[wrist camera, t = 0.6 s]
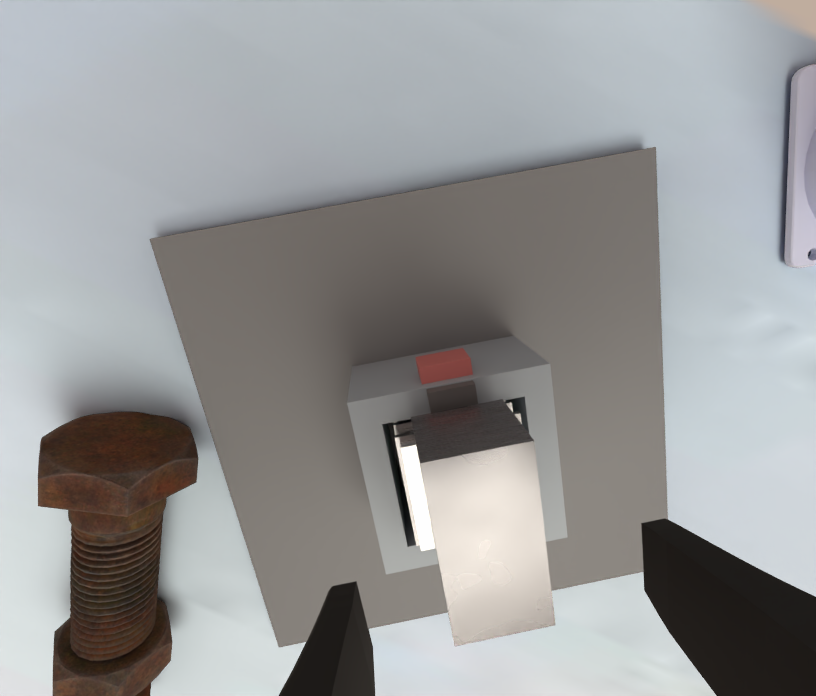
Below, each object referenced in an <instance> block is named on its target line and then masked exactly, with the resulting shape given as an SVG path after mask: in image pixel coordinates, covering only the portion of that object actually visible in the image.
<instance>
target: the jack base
mask: <svg viewBox="0 0 816 696" xmlns="http://www.w3.org/2000/svg"><path fill="white" fill-rule="evenodd" d="M150 242H151V245H152V248H153V251H154V254H155V258H156V261H157V264H158V267H159V270H160V273H161V276H162V280H163V283H164V286H165V289H166V292H167V295H168V299H169V302H170V305H171V308H172V311H173V314H174V318H175V321H176V324H177V327H178V330H179V333H180V337H181V340H182V343H183V346H184V349H185V352H186V355H187V359H188V362H189V365H190V368H191V371H192V374H193V378H194V381H195V384H196V387H197V390H198V393H199V397H200V400H201V403H202V406H203V409H204V412H205V415H206V419H207V422H208V425H209V428H210V431H211V434H212V438H213V441H214V444H215V447H216V450H217V453H218V457H219V460H220V463H221V466H222V469H223V472H224V475H225V479H226V482H227V485H228V488H229V491H230V494H231V498H232V501H233V504H234V507H235V510H236V513H237V517H238V520H239V523H240V526H241V529H242V532H243V535H244V539H245V542H246V545H247V548H248V551H249V554H250V558H251V561H252V564H253V567H254V570H255V573H256V577H257V580H258V583H259V586H260V589H261V592H262V595H263V599H264V602H265V605H266V608H267V611H268V614H269V618H270V621H271V624H272V627H273V630H274V633H275V637H276V640H277V643H278V646H279V647H283V646H288V645H293V644H298V643H302V642H307V640H308V638H309V636H310V633H311V631H312V629H313V627H314V624H315V622H316V620H317V618H318V615H319V613H320V611H321V608H322V606H323V603H324V601H325V599H326V596H327V593H328V591H329V590H330V588H331V587H332V586H335V585H340V584H345V583H350V582H355V581H357V585H358V589H359V593H360V598H361V602H362V606H363V610H364V614H365V618H366V622H367V626H368V629H370V628H375V627H379V626H384V625H389V624H394V623H399V622H403V621H408V620H413V619H418V618H423V617H427V616H432V615H437V614H442V613H447V612H448V610H447V605H446V600H445V595H444V589H443V584H442V579H441V574H440V569H439V564H438V559H437V553H436V548H434V549H429V550H424V551H421V547H420V545H419V546H416V541H415V536H414V531H413V526H412V521H411V516H410V511H409V506H408V501H407V496H406V491H405V487H404V482H403V477H402V472H401V467H400V462H399V457H398V452H397V447H396V442H395V436H394V435H395V431H394V426H393V423H394V422H397V421H402V420H407V419H411V417H413V416H418V415H423V414H428V413H434V412H439V411H444V410H449V409H454V408H459V407H464V406H469V405H474V404H480V403H485V402H490V401H495V400H500V399H503V400H505V401H509V400H510V401H511V402H512V408H513V412H516V411H519V412H520V414H521V422H522V425H523V427H524V428H525V429H526V430H527V432H528V433H529V434H530V436H531V437H532V438H533V440H534V443H535V451H536V460H537V469H538V478H539V486H540V495H541V504H542V513H543V521H544V530H545V539H546V547H547V556H548V565H549V574H550V582H551V591H553V590H557V589H562V588H567V587H572V586H577V585H581V584H586V583H591V582H596V581H601V580H606V579H610V578H615V577H620V576H625V575H630V574H634V573H639V572H644V569H643V548H642V528H641V523H644V522H649V521H654V520H659V519H664V518H665V519H667V520H668V512H667V481H666V450H665V419H664V388H663V357H662V326H661V295H660V264H659V233H658V202H657V170H656V147H653V148H648V149H642V150H637V151H631V152H626V153H620V154H615V155H609V156H604V157H598V158H593V159H587V160H582V161H576V162H571V163H565V164H560V165H554V166H549V167H543V168H538V169H532V170H527V171H521V172H516V173H510V174H505V175H499V176H494V177H488V178H483V179H477V180H472V181H466V182H461V183H455V184H450V185H444V186H439V187H433V188H428V189H422V190H417V191H411V192H406V193H400V194H395V195H389V196H384V197H378V198H373V199H367V200H362V201H356V202H351V203H345V204H340V205H334V206H329V207H323V208H318V209H312V210H307V211H301V212H296V213H290V214H285V215H279V216H274V217H268V218H263V219H257V220H252V221H246V222H241V223H235V224H230V225H224V226H219V227H213V228H208V229H202V230H197V231H191V232H186V233H180V234H175V235H169V236H164V237H158V238H153V239H150Z"/></svg>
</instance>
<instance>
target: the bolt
mask: <svg viewBox="0 0 816 696" xmlns="http://www.w3.org/2000/svg"><path fill="white" fill-rule="evenodd" d="M197 468H198V454H197V448H196V444H195V441H194V438H193V435H192V432H191V429H190V428H189V427H188V426H186V425H184V424H182V423H180V422H178V421H176V420H174V419H172V418H169V417H165V416H158V415H151V414H146V413H140V412H113V413H103V414H93V415H88V416H83V417H80V418H77V419H74V420H72V421H70V422H68V423H66V424H64V425H62V426H60V427H58V428H56V429H55V430H53V431H52V432H50V433H48V434H47V435H45V436H44V437H42V439H41V443H40V453H39V465H38V506H41V507H49V508H58V509H66V510H68V517H69V521H70V523H71V524H72V526H71V531H72V532H71V536H72V539H71V543H72V548H71V551H72V552H71V575H70V577H71V581H70V586H71V596H70V600H71V601H70V603H71V608H70V610H71V615H70V618H69V619H68V620H67V621H66V622H65V623H64V624H63V625H62V626H60V627H59V628H58V629H57V630H56V631H55V635H54V655H53V696H150V689H151V682H152V681H153V680H154V679H155V678H156V677H157V676H158V675H159V674H160V672H161V671H162V670H163V669H164V668H165V667H166V665H167V664H168V663H169V662H170V661H171V650H172V636H171V628H170V622H169V616H168V611H167V607H166V605H165V603H164V602H162V601H161V600H159V599H157V588H158V574H159V564H160V561H159V560H160V550H161V548H160V547H161V535H162V521H163V511H164V509H165V506H166V498H167V497H168V496H170V495H172V494H174V493H176V492H178V491H180V490H182V489H184V488H186V487H188V486H190V485H192V484H194V483H196V480H197Z"/></svg>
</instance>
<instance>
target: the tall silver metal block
mask: <svg viewBox="0 0 816 696" xmlns="http://www.w3.org/2000/svg"><path fill="white" fill-rule="evenodd" d="M393 426H394V431H395V435H394V436H395V442H396V447H397V452H398V457H399V462H400V467H401V472H402V477H403V482H404V487H405V491H406V496H407V501H408V506H409V511H410V516H411V521H412V526H413V531H414V536H415V541H416V546H419V545H420V547H421V551H424V550H429V549H434V548H436V553H437V559H438V564H439V569H440V574H441V579H442V584H443V589H444V595H445V600H446V605H447V610H448V615H449V620H450V625H451V630H452V635H453V640H454V645H455V646H459V645H463V644H468V643H473V642H478V641H482V640H487V639H492V638H497V637H501V636H506V635H511V634H516V633H520V632H525V631H530V630H535V629H539V628H544V627H549V626H554V625H555V617H554V608H553V600H552V591H551V582H550V574H549V565H548V556H547V547H546V539H545V530H544V521H543V513H542V504H541V495H540V486H539V478H538V469H537V460H536V451H535V443H534V440H533V438H532V437H531V436H530V434H529V433H528V432H527V430H526V429H525V428H524V427H523V425H522V422H521V414H520V412H519V411H516V412H513V408H512V402H511V401H510V400H509V401H505V400H503V399H500V400H495V401H490V402H485V403H480V404H474V405H469V406H464V407H459V408H454V409H449V410H444V411H439V412H434V413H428V414H423V415H418V416H413V417H411V419H407V420H402V421H397V422H394V423H393Z"/></svg>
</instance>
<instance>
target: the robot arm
mask: <svg viewBox="0 0 816 696" xmlns="http://www.w3.org/2000/svg"><path fill="white" fill-rule="evenodd" d="M810 250H811V254H810V257H809V258H808V252H809V251H810ZM784 258H785V263H786V264H787V265H788V266H790V267H795V268H802V267H808V266H813V265H816V64H812V65H809V66H806V67H803V68H801V69H799V70H798V71H797V72H795V74H794V76H793V77H792V82H791V101H790V127H789V152H788V178H787V204H786V230H785V256H784ZM641 528H642V548H643V569H644V590H645V592H646V594H647V595H648V597H649V599H650V601H651V602H652V604H653V606H654V608H655V609H656V611H657V613H658V614H659V616H660V618H661V619H662V621H663V623H664V624H665V626H666V627H667V629H668V631H669V632H670V634H671V635H672V636H673V638H674V639H675V641H676V642H677V643H678V645H679V646H680V647H681V649H682V650H683V651H684V653H685V654H686V655H687V657H688V658H689V659H690V661H691V662H692V663H693V665H694V666H695V667H696V669H697V670H698V671H699V673H700V674H701V675H702V677H703V678H704V679H705V681H706V682H707V683H708V685H709V686H710V687H711V689H712V690H713V691H714V693H715V694H716V695H717V696H816V597H815V596H813V595H811V594H808V593H806V592H804V591H802V590H800V589H798V588H796V587H794V586H792V585H790V584H788V583H786V582H784V581H782V580H780V579H778V578H776V577H774V576H772V575H770V574H768V573H766V572H764V571H762V570H760V569H758V568H756V567H754V566H752V565H750V564H749V563H747V562H745V561H743V560H741V559H739V558H737V557H735V556H734V555H732V554H730V553H728V552H726V551H724V550H723V549H721V548H719V547H717V546H715V545H713V544H712V543H710V542H708V541H706V540H704V539H703V538H701V537H699V536H697V535H695V534H694V533H692V532H690V531H688V530H686V529H684V528H683V527H681V526H679V525H677V524H675V523H673V522H671V521H669V520H667V519H665V518H664V519H659V520H654V521H649V522H644V523H641ZM279 696H375V681H374V662H373V646H372V642H371V638H370V634H369V630H368V626H367V622H366V618H365V614H364V610H363V606H362V602H361V598H360V593H359V589H358V585H357V581H355V582H350V583H345V584H340V585H335V586H332V587H331V588H330V590H329V591H328V593H327V596H326V599H325V601H324V603H323V606H322V608H321V611H320V613H319V615H318V618H317V620H316V622H315V624H314V627H313V629H312V631H311V633H310V636H309V638H308V640H307V642H306V644H305V646H304V648H303V650H302V652H301V654H300V656H299V658H298V660H297V662H296V664H295V666H294V668H293V670H292V672H291V674H290V676H289V678H288V680H287V682H286V683H285V685H284V687H283V689H282V691H281V692H280V694H279Z"/></svg>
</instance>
